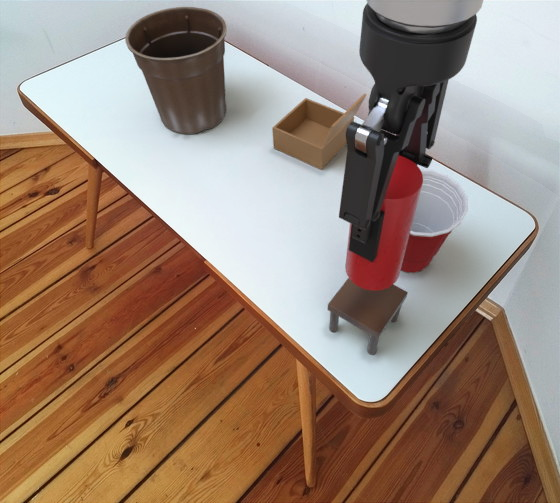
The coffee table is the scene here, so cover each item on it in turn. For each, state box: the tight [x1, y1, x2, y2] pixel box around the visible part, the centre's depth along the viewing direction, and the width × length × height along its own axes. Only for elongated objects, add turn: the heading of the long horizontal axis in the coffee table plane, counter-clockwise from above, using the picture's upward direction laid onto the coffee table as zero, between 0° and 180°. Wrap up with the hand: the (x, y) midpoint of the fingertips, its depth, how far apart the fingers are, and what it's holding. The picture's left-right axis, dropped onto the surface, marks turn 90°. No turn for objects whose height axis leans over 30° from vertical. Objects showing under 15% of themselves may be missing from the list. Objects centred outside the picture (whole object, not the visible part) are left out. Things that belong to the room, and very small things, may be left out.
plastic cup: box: [401, 168, 469, 274], centre depth 68 cm, size 11×11×12 cm
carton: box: [272, 97, 355, 171], centre depth 87 cm, size 10×10×4 cm
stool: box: [327, 277, 409, 356], centre depth 64 cm, size 7×7×6 cm
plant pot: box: [124, 6, 228, 135], centre depth 89 cm, size 16×16×16 cm
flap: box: [322, 92, 367, 146], centre depth 81 cm, size 5×10×1 cm
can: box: [344, 155, 423, 291], centre depth 52 cm, size 6×6×14 cm
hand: (379, 232), depth 52 cm, fingers closed on can, 6 cm apart
